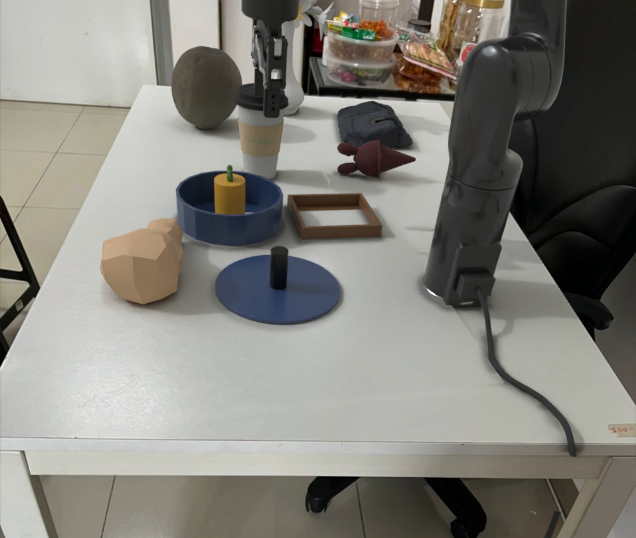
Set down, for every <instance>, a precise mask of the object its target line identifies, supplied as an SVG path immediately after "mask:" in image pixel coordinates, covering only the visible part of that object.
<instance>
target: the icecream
mask: <svg viewBox="0 0 636 538" xmlns="http://www.w3.org/2000/svg"><path fill="white" fill-rule="evenodd" d="M336 150H337V152H338V153H339V154H341V155H343V156H346V157H352V160H353V161H351V162H349V161H348V162H343V163H341V164H339V165H338V166H337V169H336V171H337V173H338V174H340V175H345V176H346V175H349V174H354V173H355V172H357V171H358V172H360V173H361V174H362V175H363V176H366V177H371V178H378V179H379V178H381V174H383V173H385V172H389V171H391V170H394V169H397V168H400V167H402V166H406V165H408V164H412V163H414V162H416V161H417V158H416V157H414V156H412V155H410V154H406V153H404V152H401V151H399V150H396V149H391V148H388V147H386V146H383V145H381V144H380V140H378V141H375V140H374V141H370V142H367V143H365V144H363V145H362V146H361V147H359V148H358V147H356V146H354V145H351V143H350V142H347V143H344V142H340V143H339V144H338V145H337V147H336Z"/></svg>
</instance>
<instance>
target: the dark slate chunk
mask: <svg viewBox="0 0 636 538" xmlns="http://www.w3.org/2000/svg"><path fill="white" fill-rule="evenodd" d="M337 125H338V128H337V129H338V131H339V137H340V141H341V143H343V142H344V143H347V142H350V143H351V145H354V146H356V147H358V148H359V147H361V146H362V145H363V144H365V143H367V142H370V141H374V140H375V141H378V140H380V144H381V145H383V146H386V147H388V148H391V149H393V150H395V149H404V148H408V147H412V146H413V144H414V141H413V138H412V137H411V135H410V134H409V133H408V131H407V130H406V129H405V128H404V124H403V122H402V121H401V120H400V118H399V116H397V114H396V111H395V110H394V108H393V107H392V106H391V105H389V104H384V103H380V102H378V101H375V100H367V101H364V102H360V103H357V104H355V105H348V106H345V107H342V108H340V109H339V110H338V111H337Z"/></svg>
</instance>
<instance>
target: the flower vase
mask: <svg viewBox="0 0 636 538" xmlns="http://www.w3.org/2000/svg"><path fill="white" fill-rule="evenodd" d="M317 1H318V0H299V10H298V17H297V18H296V19H295V20H293V21H290V22H287V21H286V22H284V23H283V24H282V35H285V37H286V39H287V42H288V46H287V67H286V87H285V89H284V91H285V96H287V98H288V103H289V105H288V107H286V108H285V110H284V116H290V115H291V116H292V115H294V114H296V113H297V111H298V109H297V108H300V107H301V105H302V104H303V102H304V100H305V93H304V89H303V87H302V86H301V85H300V83H299V82H298V80H297V77H296V76H295V72H294V71H295V70H294V65H293V63H294V62H293V61H294V60H293V58H294V57H293V56H294V55H293V53H294V38H295V37H294V35H295V31H296V29H299V27H300V26H301V23H303V24H304V25H306V26H307V27H312V26H313V22H312V20H311V18H310V17H309V16H312V17H313V18H314V19H315V20H316V21H317V22H318V27H319V37H320V38H319V39H320V41H322V39H323V37H324V36H327V35H328V32H329V23H328V21H329V20H331V19H332V18H333V16H334V15H335V13H336V9H335V8H333V7H334V5H335V1H333V2H332V3H330V5H329V6H328V7H327V8H326V9H325V10H324V11H323V9H322V8H321V7H320V6H317V5H316V3H317ZM271 79H278V78H277V73H275V72H274V74H273V77H271Z"/></svg>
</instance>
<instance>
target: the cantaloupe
mask: <svg viewBox="0 0 636 538" xmlns="http://www.w3.org/2000/svg"><path fill="white" fill-rule="evenodd" d="M242 78H243V77H242V73H241V72H240V69H239V66H238V64H236V62H235V61H234V60H233V58H232V57H231V56H230V55H229V54H228V53H226V52H225V51H223V49H220V48H216V47H210V46H206V45H199V46H194V47H190V48H189V49H187V50H186V51H184V52H183V53H182V54H181V55H180V56H179V58H178V60H177V61H176V63H175V65H174V67H173V70H172V73H171V87H170V88H171V89H170V90H171V97H172V100H173V101H172V102H173V103H174V107H175V109H176V110H177V112H178V114H179V116H181V118H182V119H183V120H185V122H187V123H189V124H191V125H193V126H195V127H197V128H199V129H202V130H208V129H212V128H216V127H217V126H220V125H221V124H223V123H224V122H226V121H227V120H228V119H229V118H230V116H231V115H232V114H233V113H234V112H235V110H236V108H237V107H238V105H237V104H236V103H235V102H234V99H235V95H236V93H238V91H239V87H240V86H242V85H243V79H242Z"/></svg>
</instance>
